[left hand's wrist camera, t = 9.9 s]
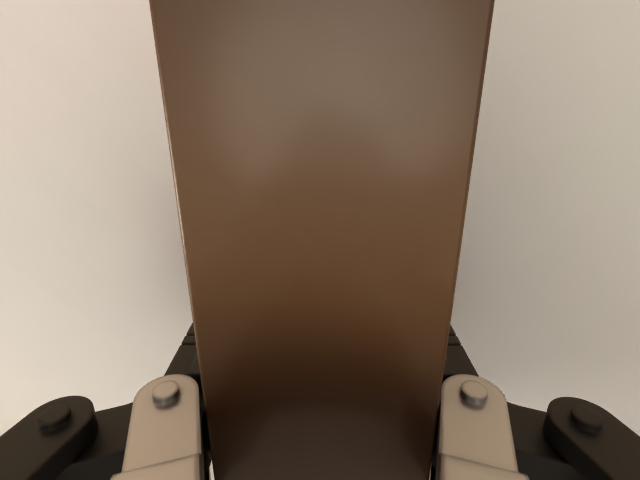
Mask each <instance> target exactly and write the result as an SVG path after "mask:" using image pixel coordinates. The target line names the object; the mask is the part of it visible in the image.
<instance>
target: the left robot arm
mask: <svg viewBox="0 0 640 480" xmlns="http://www.w3.org/2000/svg"><path fill="white" fill-rule="evenodd" d="M211 460H212V457H211V449H210V442H209V435H208V427H207V420H206V413H205V405H204V398H203V391H202V383H201V376H200V369H199V361H198V354H197V347H196V339H195V332H194V325H193V323H192V325H191V327H190V329H189V330H188V332H187V336H185V338H184V340H183V342H182V345H180V347H179V349H178V351H177V353H176V355H175V356H174V358H173V360H172V362H171V364H170V366H169V367H168V369H167V371H166V373H165V375H164V376H163V377H160V378H157V379H155V380H153V381H151V382H149V383H148V384H146V385H145V386H144V387H142V388H141V389H140V390H139V392H138V393H137V394H136V396H135V398H134V401H133V402H132V403H130V404H126V405H123V406H119V407H114V408H110V409H106V410H102V411H97V412H95V410H94V406H93V403H92V402H91V401H90V400H89V399H88V398H85V397H82V396H67V397H62V398H58V399H55V400H53V401H50V402H48V403H46V404H44V405H42V406H40V407H38V408H37V409H35V410H34V411H32V412H31V413H30V414H28V415H27V416H26V417H25V418H23V419H22V420H21V421H20V422H18V423H17V424H16V425H14V426H13V427H12V428H11V429H9V430H8V431H7V432H6V433H4V434H3V435H2V436H0V480H211V475H210V468H209V467H210V464H211ZM429 480H640V436H638V435H637V434H636V433H634V432H633V431H632V430H631V429H629V428H628V427H627V426H626V425H624V424H623V423H622V422H621V421H619V420H618V419H617V418H615V417H614V416H613V415H612V414H610V413H609V412H608V411H606V410H605V409H603V408H601V407H600V406H597V405H595V404H593V403H591V402H588V401H586V400H582V399H578V398H573V397H560V398H556V399H554V400H553V401H551V402H550V404H549V406H548V409H547V412H543V411H539V410H535V409H530V408H526V407H522V406H518V405H514V404H512V403H509V402H507V401H506V398H505V396H504V394H503V393H502V392H501V390H500V389H499V388H498V387H496V386H495V385H494V384H492V383H491V382H489V381H487V380H485V379H483V378H480V377H479V376H478V374H477V372H476V370H475V369H474V367H473V365H472V363H471V361H470V359H469V358H468V356H467V354H466V352H465V350H464V349H463V347H462V346H461V343H460V341H459V339H458V338H457V336H456V334H455V332H454V330H453V328H452V327H451V325H450V329H449V336H448V344H447V351H446V358H445V366H444V373H443V380H442V388H441V395H440V402H439V409H438V417H437V424H436V431H435V439H434V446H433V453H432V461H431V468H430V475H429Z"/></svg>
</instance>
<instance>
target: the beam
mask: <svg viewBox="0 0 640 480" xmlns="http://www.w3.org/2000/svg"><path fill="white" fill-rule="evenodd" d="M149 3H150V10H151V17H152V25H153V32H154V39H155V47H156V54H157V61H158V69H159V76H160V83H161V91H162V98H163V105H164V113H165V120H166V127H167V134H168V142H169V149H170V156H171V164H172V171H173V178H174V186H175V193H176V200H177V208H178V215H179V222H180V230H181V237H182V244H183V252H184V259H185V266H186V274H187V281H188V288H189V295H190V303H191V310H192V317H193V325H194V332H195V339H196V347H197V354H198V361H199V369H200V376H201V383H202V391H203V398H204V405H205V413H206V420H207V427H208V435H209V442H210V449H211V457H212V464H213V471H214V478H215V480H429V475H430V468H431V461H432V453H433V446H434V439H435V431H436V424H437V417H438V409H439V402H440V395H441V388H442V380H443V373H444V366H445V358H446V351H447V344H448V336H449V329H450V322H451V315H452V307H453V300H454V293H455V285H456V278H457V271H458V263H459V256H460V249H461V241H462V234H463V227H464V220H465V212H466V205H467V198H468V190H469V183H470V176H471V168H472V161H473V154H474V147H475V139H476V132H477V125H478V117H479V110H480V103H481V95H482V88H483V81H484V73H485V66H486V59H487V52H488V44H489V37H490V30H491V22H492V15H493V8H494V0H149Z"/></svg>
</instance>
